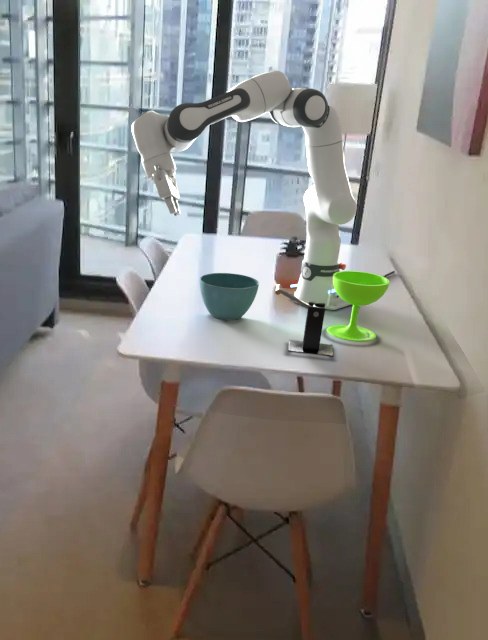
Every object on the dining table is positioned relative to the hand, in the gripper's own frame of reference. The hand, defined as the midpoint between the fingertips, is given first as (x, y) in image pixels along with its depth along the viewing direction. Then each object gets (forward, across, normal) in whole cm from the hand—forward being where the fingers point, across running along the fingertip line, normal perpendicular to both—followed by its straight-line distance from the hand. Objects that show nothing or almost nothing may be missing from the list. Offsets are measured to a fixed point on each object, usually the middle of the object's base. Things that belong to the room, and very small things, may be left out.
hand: (175, 214), depth 209 cm
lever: (+36, -9, -24) cm, 44 cm away
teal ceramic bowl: (+34, +16, -3) cm, 38 cm away
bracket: (+50, -6, -24) cm, 55 cm away
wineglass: (+52, +11, -37) cm, 64 cm away
